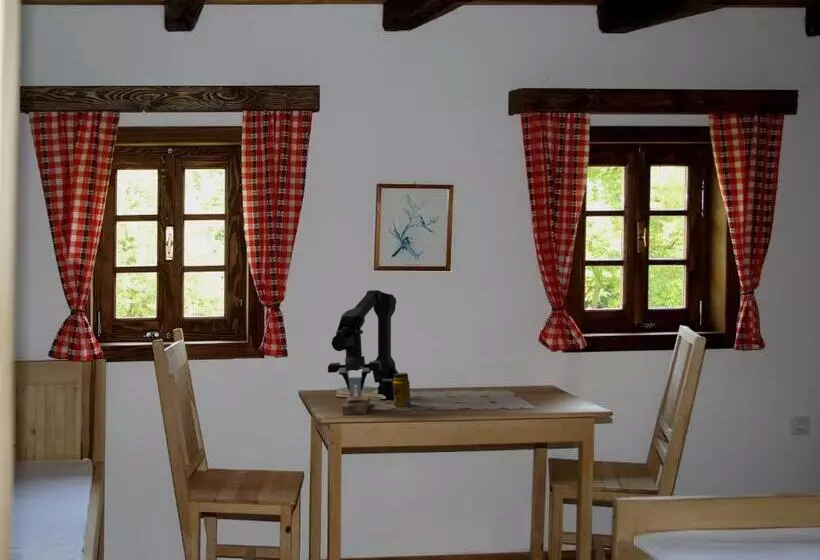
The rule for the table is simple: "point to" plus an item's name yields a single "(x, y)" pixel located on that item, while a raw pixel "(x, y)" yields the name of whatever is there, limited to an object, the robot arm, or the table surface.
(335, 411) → the table surface
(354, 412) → the brown slotted block
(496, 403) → the table surface
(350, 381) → the clip
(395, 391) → the condiment
